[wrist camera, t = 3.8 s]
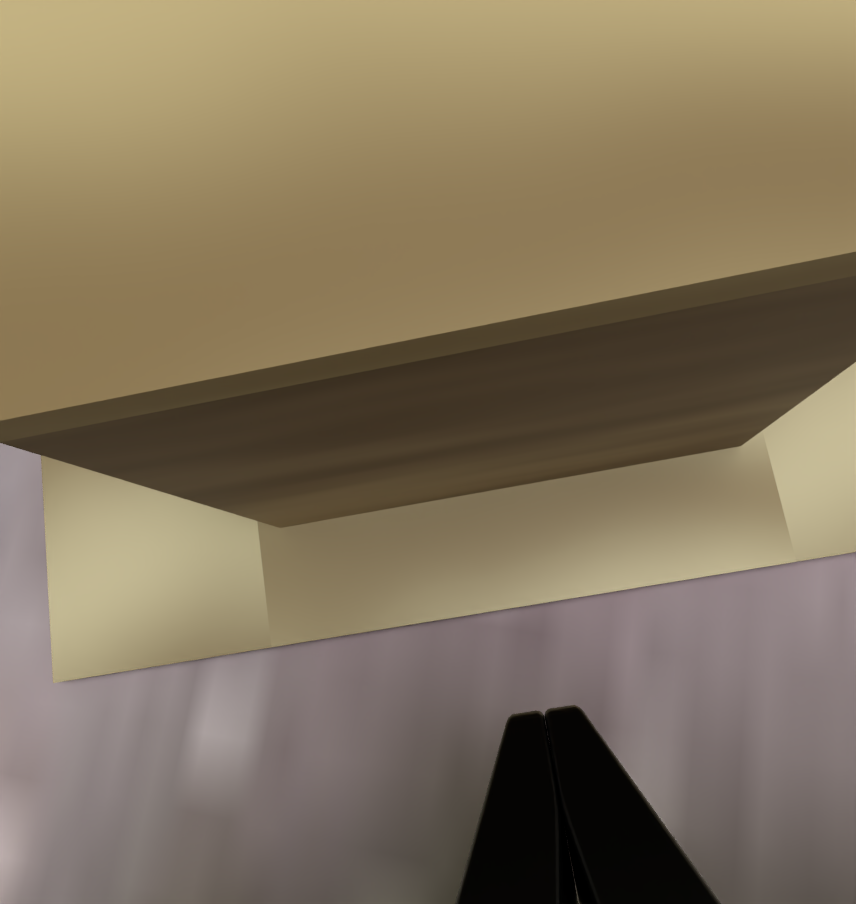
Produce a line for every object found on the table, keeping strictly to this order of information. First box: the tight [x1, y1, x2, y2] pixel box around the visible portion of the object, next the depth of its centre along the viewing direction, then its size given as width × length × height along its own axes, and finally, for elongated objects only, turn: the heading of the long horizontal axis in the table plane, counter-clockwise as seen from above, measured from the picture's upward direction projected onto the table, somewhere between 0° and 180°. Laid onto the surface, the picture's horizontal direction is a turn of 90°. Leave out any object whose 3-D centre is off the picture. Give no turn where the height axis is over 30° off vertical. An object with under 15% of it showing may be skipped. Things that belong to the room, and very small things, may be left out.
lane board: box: [41, 362, 856, 683], centre depth 17 cm, size 26×21×4 cm
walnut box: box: [0, 0, 856, 528], centre depth 13 cm, size 14×10×10 cm
